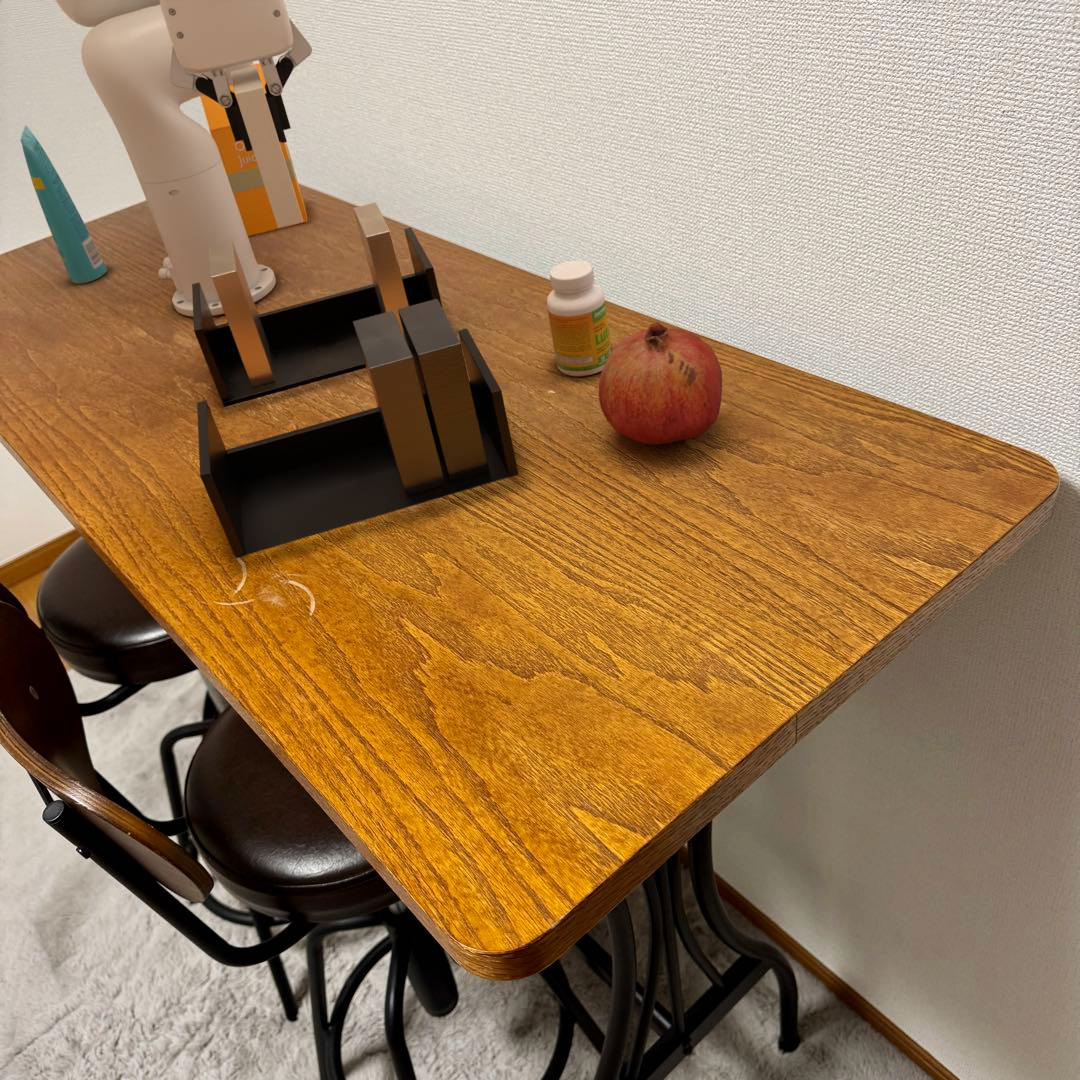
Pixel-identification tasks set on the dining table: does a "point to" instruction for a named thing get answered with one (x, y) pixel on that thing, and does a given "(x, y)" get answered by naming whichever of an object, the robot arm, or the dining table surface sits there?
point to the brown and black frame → (302, 318)
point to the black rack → (368, 440)
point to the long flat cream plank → (266, 146)
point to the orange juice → (247, 170)
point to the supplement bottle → (578, 319)
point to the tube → (62, 215)
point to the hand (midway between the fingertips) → (265, 141)
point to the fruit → (661, 386)
